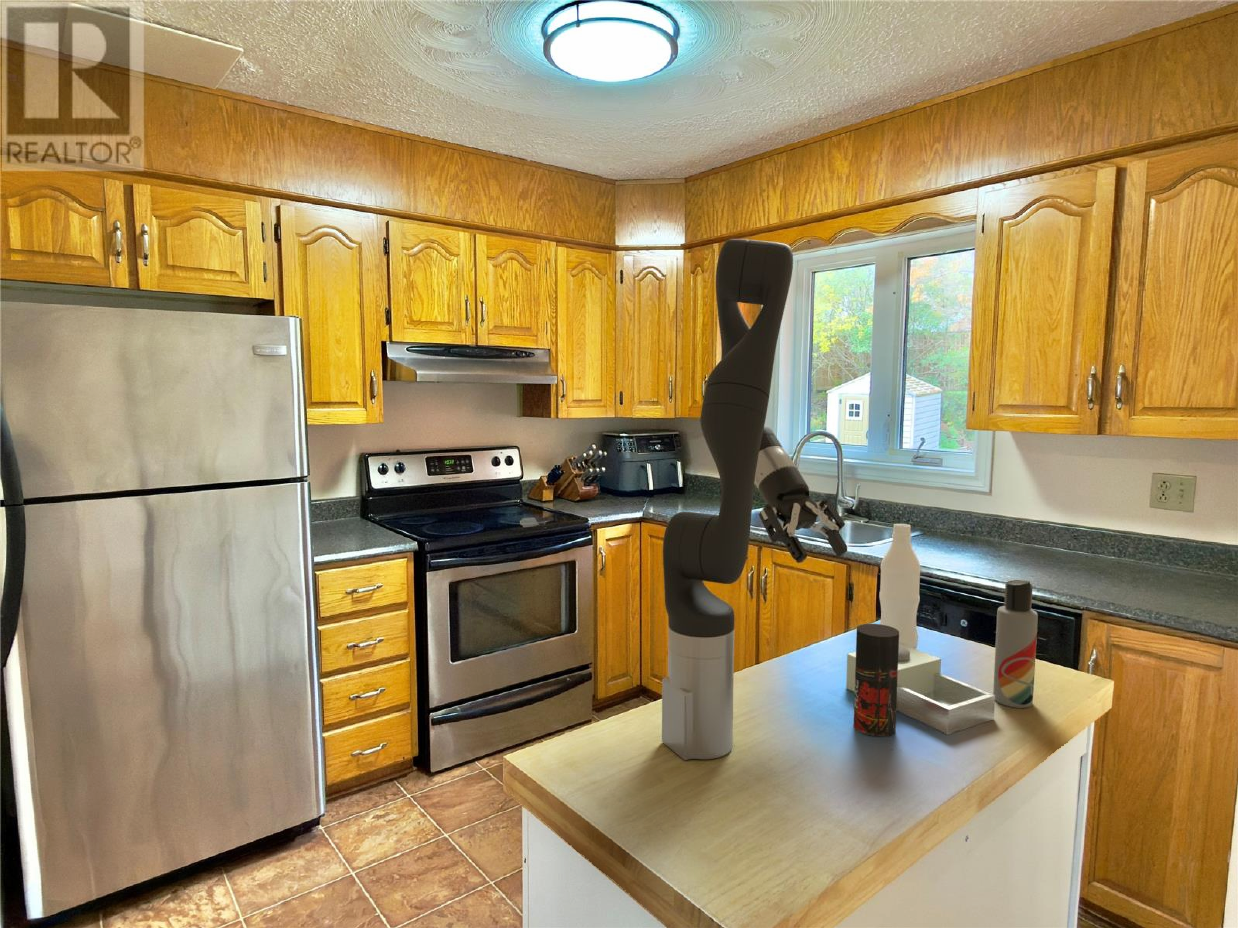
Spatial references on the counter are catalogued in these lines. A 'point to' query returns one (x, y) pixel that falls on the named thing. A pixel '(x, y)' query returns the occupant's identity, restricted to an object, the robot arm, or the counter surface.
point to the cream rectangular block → (905, 670)
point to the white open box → (947, 705)
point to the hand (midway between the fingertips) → (823, 556)
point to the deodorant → (876, 679)
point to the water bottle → (900, 586)
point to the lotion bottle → (1015, 647)
